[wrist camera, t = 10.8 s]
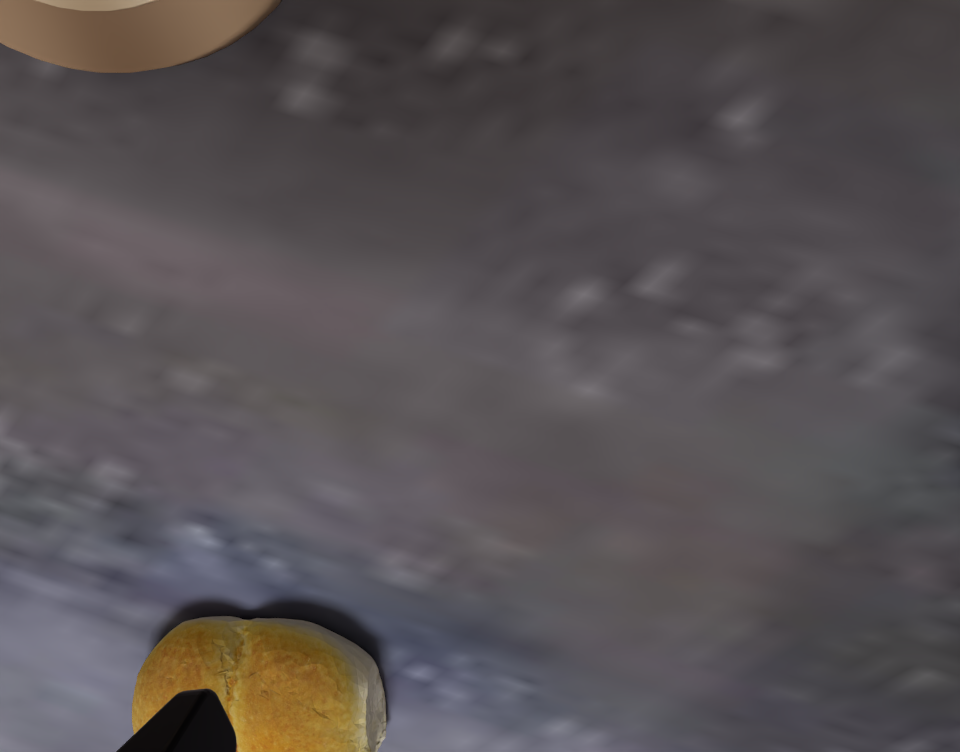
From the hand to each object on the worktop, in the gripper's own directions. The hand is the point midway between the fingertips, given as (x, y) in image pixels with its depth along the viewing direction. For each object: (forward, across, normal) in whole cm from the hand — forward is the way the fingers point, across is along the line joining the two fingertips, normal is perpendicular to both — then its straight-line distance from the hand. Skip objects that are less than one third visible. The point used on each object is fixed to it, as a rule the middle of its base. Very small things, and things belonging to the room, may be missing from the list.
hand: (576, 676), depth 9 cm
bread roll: (+14, +12, +14) cm, 23 cm away
